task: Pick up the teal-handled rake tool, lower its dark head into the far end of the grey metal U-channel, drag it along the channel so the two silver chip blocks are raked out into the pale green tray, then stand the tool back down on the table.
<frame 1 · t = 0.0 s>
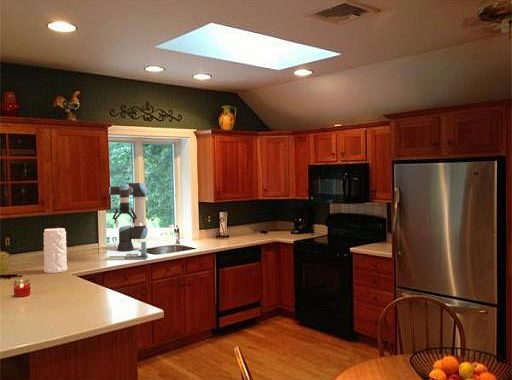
hand: (124, 227, 382), 28 cm above the worktop, fingers open, 13 cm apart
paper towel roll: (55, 271, 341), on the worktop
chip 1: (135, 258, 381), point 1 cm above the worktop, touching slot channel
tray: (116, 260, 381), on the worktop
chip 2: (129, 258, 381), point 1 cm above the worktop, touching slot channel
slot channel: (136, 260, 382), on the worktop
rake: (143, 257, 393), on the worktop
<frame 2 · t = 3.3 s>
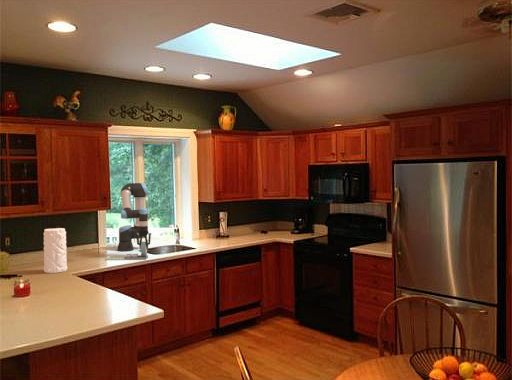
hand: (143, 252, 392), 5 cm above the worktop, fingers closed on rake, 3 cm apart
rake: (143, 257, 393), on the worktop, touching gripper
everything else where it was.
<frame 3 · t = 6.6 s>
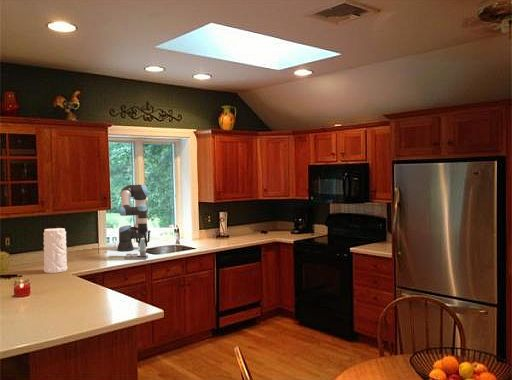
hand: (142, 250, 381), 8 cm above the worktop, fingers closed on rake, 3 cm apart
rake: (142, 255, 381), point 4 cm above the worktop, touching gripper
everything else where it was.
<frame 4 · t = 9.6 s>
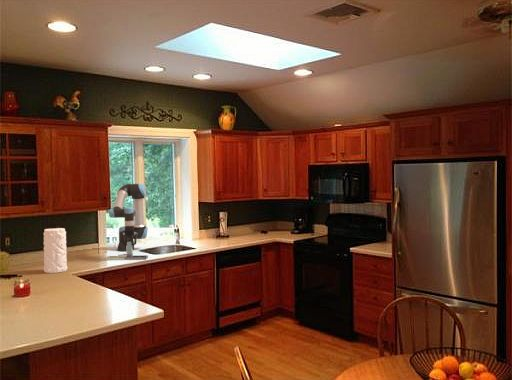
hand: (129, 252, 381), 6 cm above the worktop, fingers closed on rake, 3 cm apart
chip 1: (125, 258, 381), point 1 cm above the worktop, touching chip 2, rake
chip 2: (120, 259, 381), point 1 cm above the worktop, touching chip 1
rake: (129, 258, 381), point 2 cm above the worktop, touching chip 1, gripper
everything else where it was.
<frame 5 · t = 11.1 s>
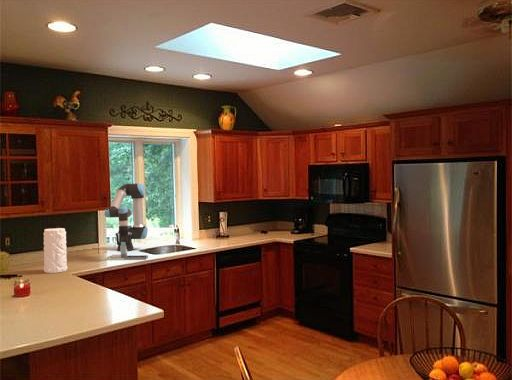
hand: (123, 252, 381), 6 cm above the worktop, fingers closed on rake, 3 cm apart
chip 1: (119, 259, 381), point 1 cm above the worktop, touching chip 2, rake, tray
chip 2: (114, 259, 381), point 1 cm above the worktop, touching chip 1, tray
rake: (123, 258, 381), point 2 cm above the worktop, touching chip 1, gripper
everything else where it was.
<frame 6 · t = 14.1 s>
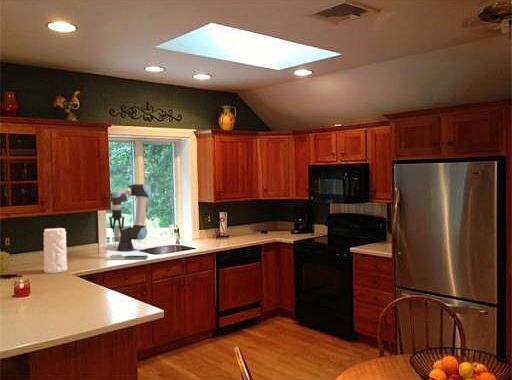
hand: (117, 236, 391), 19 cm above the worktop, fingers closed on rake, 3 cm apart
chip 1: (119, 259, 381), point 1 cm above the worktop, touching chip 2, tray
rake: (117, 241, 391), point 15 cm above the worktop, touching gripper
everything else where it was.
when the fingers open (5 cm above the worktop, at t = 16.6 s): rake stays where it is, on the worktop.
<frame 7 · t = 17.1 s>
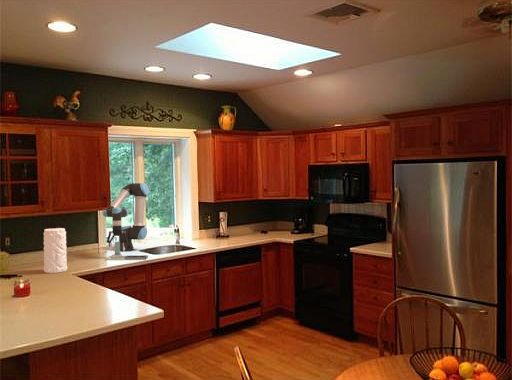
hand: (117, 250, 392), 7 cm above the worktop, fingers open, 10 cm apart
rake: (117, 257, 392), on the worktop
everything else where it was.
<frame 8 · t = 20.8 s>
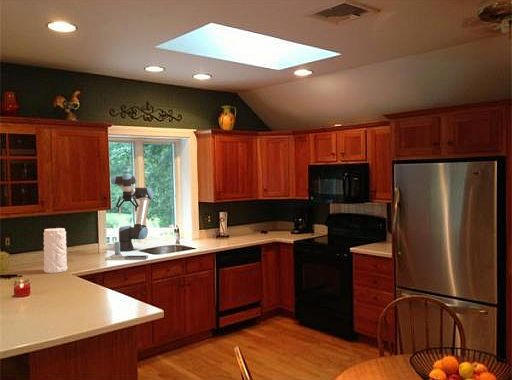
hand: (127, 214, 403), 37 cm above the worktop, fingers open, 13 cm apart
nothing on the worktop moved.
at the end: chip 1 inside the target area (2.8 cm from its centre), point 0.6 cm above the worktop; chip 2 inside the target area (1.2 cm from its centre), point 0.6 cm above the worktop; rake tilted 0° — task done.
